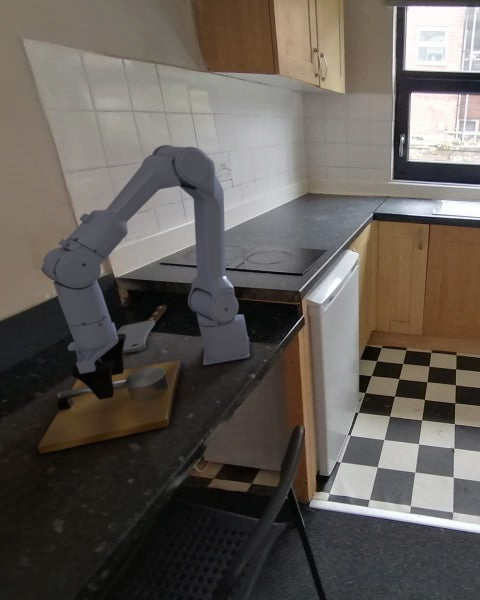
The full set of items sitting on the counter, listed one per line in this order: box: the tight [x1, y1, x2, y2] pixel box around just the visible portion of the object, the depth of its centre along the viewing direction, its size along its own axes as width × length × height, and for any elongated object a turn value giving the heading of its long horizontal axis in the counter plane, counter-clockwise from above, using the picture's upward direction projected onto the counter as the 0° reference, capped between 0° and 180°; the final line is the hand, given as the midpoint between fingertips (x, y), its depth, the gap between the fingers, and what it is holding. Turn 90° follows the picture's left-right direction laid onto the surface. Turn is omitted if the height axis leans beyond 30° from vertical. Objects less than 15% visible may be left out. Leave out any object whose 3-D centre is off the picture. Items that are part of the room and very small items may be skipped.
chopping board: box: [37, 359, 182, 455], centre depth 75 cm, size 18×20×2 cm
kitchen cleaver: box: [116, 304, 168, 354], centre depth 101 cm, size 24×1×10 cm
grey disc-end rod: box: [56, 367, 169, 410], centre depth 74 cm, size 17×6×3 cm, turn 111°
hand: (112, 385), depth 73 cm, fingers open, 7 cm apart
